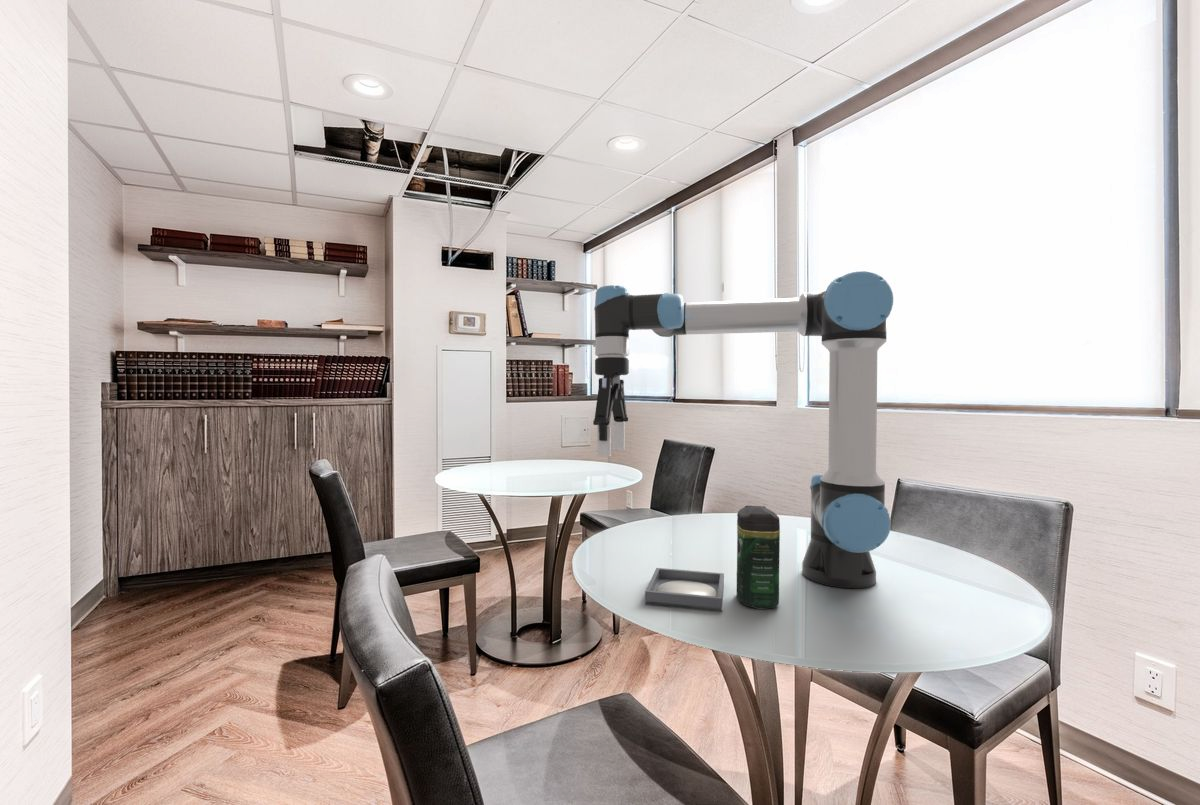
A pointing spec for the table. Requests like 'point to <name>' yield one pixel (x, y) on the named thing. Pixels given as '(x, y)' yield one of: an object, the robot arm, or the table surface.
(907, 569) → the table surface
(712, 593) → the cradle tray
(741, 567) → the coffee jar
